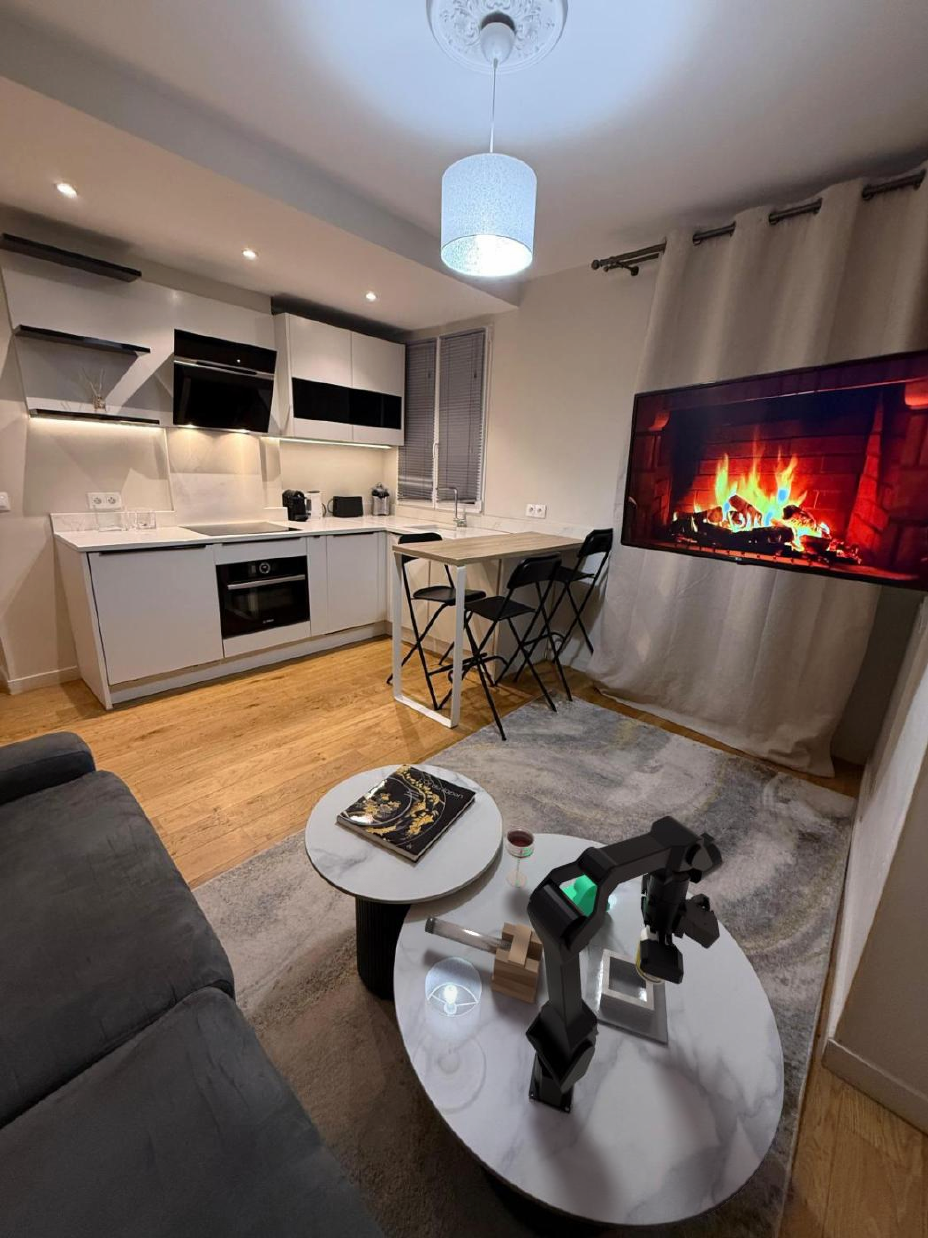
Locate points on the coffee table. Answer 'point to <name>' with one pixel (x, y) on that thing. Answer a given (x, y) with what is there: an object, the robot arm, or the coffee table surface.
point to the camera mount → (583, 894)
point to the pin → (465, 936)
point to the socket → (624, 995)
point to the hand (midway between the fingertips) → (652, 959)
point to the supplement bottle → (644, 935)
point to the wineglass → (519, 852)
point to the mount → (518, 963)
